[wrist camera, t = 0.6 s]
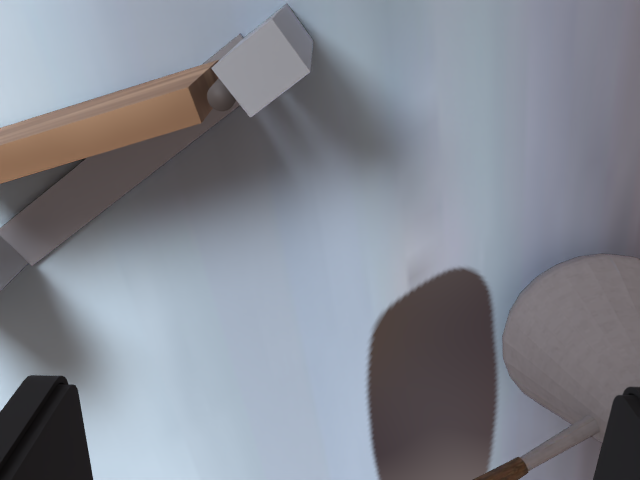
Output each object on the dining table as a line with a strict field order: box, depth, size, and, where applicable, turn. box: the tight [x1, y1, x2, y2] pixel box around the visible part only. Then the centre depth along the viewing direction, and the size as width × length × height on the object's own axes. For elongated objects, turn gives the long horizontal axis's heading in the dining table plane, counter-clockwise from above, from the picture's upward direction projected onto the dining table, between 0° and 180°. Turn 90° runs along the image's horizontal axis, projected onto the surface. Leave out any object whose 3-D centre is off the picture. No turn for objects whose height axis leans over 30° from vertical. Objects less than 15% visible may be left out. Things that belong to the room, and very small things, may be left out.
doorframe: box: [0, 4, 313, 291], centre depth 32 cm, size 3×28×11 cm, turn 127°
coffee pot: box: [473, 254, 640, 480], centre depth 34 cm, size 21×12×15 cm, turn 106°
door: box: [0, 60, 236, 184], centre depth 31 cm, size 2×19×8 cm, turn 107°
